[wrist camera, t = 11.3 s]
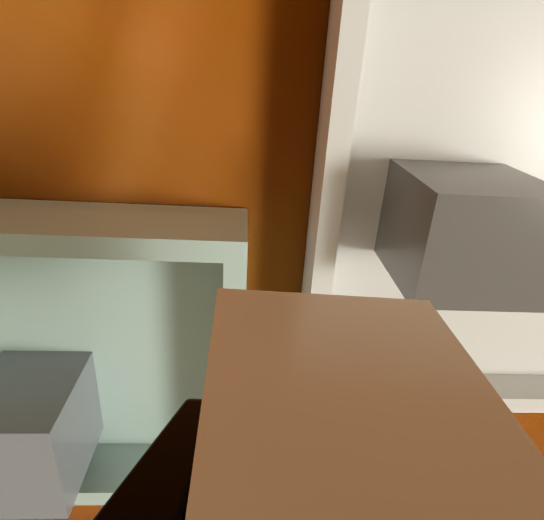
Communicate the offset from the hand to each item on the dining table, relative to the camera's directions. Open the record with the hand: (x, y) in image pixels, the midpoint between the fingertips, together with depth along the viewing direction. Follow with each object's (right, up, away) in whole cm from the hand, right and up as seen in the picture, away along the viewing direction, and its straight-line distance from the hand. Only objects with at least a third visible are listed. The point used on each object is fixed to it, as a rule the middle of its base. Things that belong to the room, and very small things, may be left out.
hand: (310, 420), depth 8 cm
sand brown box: (0, 0, 0) cm, 1 cm away
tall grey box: (-11, -3, +12) cm, 16 cm away
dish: (-9, -1, +12) cm, 15 cm away
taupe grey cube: (+6, +5, +9) cm, 12 cm away
